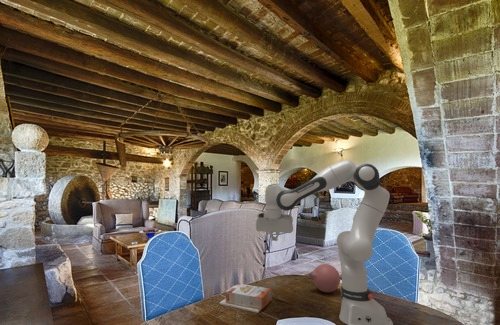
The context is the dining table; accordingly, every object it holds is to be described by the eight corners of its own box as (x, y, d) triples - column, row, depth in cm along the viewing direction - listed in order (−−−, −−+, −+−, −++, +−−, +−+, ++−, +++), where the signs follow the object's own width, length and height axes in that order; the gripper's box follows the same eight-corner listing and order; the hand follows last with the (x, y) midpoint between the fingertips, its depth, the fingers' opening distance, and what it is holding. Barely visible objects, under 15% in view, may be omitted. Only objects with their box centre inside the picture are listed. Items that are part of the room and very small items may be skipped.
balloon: (303, 286, 170) (303, 260, 171) (337, 287, 168) (336, 261, 169) (306, 296, 154) (306, 267, 156) (343, 297, 153) (342, 268, 154)
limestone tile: (272, 299, 151) (272, 297, 151) (257, 312, 135) (257, 311, 135) (236, 292, 161) (236, 290, 161) (219, 304, 145) (219, 302, 145)
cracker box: (262, 297, 136) (224, 291, 145) (262, 310, 136) (224, 303, 144) (271, 287, 149) (237, 282, 157) (272, 299, 148) (237, 293, 157)
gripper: (294, 214, 147) (295, 240, 146) (259, 213, 156) (259, 238, 155) (290, 215, 142) (291, 243, 141) (254, 214, 151) (255, 240, 149)
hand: (274, 240), depth 148 cm, fingers closed
